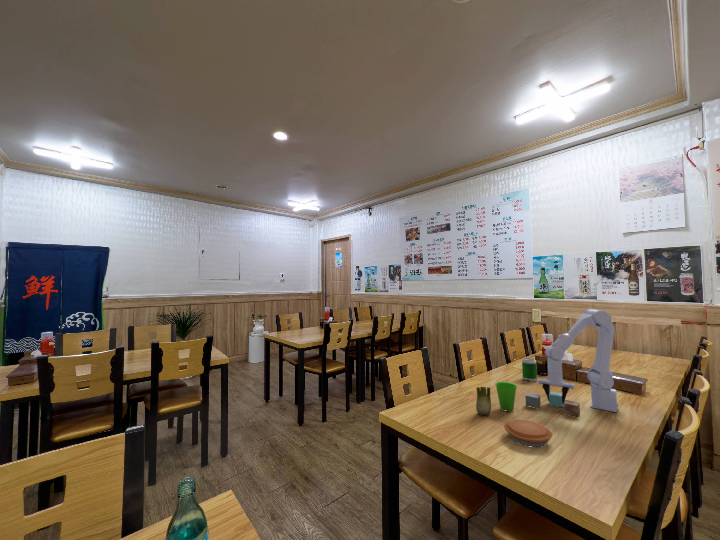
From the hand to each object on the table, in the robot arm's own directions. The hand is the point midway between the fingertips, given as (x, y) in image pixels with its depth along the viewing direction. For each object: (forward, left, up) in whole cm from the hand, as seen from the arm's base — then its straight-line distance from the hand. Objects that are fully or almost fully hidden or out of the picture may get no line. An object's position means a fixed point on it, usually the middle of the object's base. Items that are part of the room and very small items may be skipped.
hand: (556, 402), depth 145 cm
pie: (+2, +44, -2) cm, 44 cm away
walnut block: (-7, +8, -2) cm, 11 cm away
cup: (+16, +20, -2) cm, 26 cm away
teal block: (0, 0, -1) cm, 1 cm away
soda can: (+19, -35, -2) cm, 40 cm away
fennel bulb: (+22, +32, -2) cm, 39 cm away
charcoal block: (+8, +8, -2) cm, 11 cm away
